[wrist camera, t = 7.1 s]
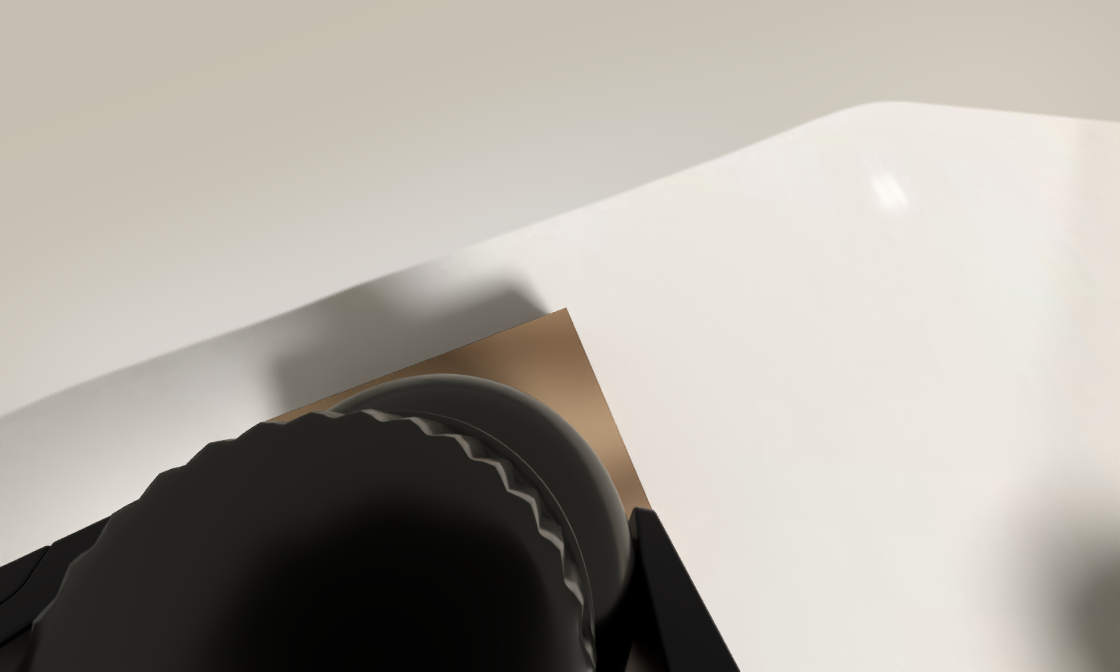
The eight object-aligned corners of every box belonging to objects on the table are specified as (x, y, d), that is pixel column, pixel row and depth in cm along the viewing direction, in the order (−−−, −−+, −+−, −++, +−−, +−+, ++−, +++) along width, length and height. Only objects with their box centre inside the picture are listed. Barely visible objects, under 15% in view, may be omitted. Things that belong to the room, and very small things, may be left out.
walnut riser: (674, 593, 20) (702, 627, 16) (389, 726, 19) (346, 798, 15) (564, 330, 24) (566, 307, 20) (314, 426, 22) (263, 421, 18)
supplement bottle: (377, 609, 14) (-477, 1321, 2) (422, 402, 16) (55, 255, 4) (584, 640, 14) (718, 1581, 2) (605, 426, 16) (734, 339, 4)
